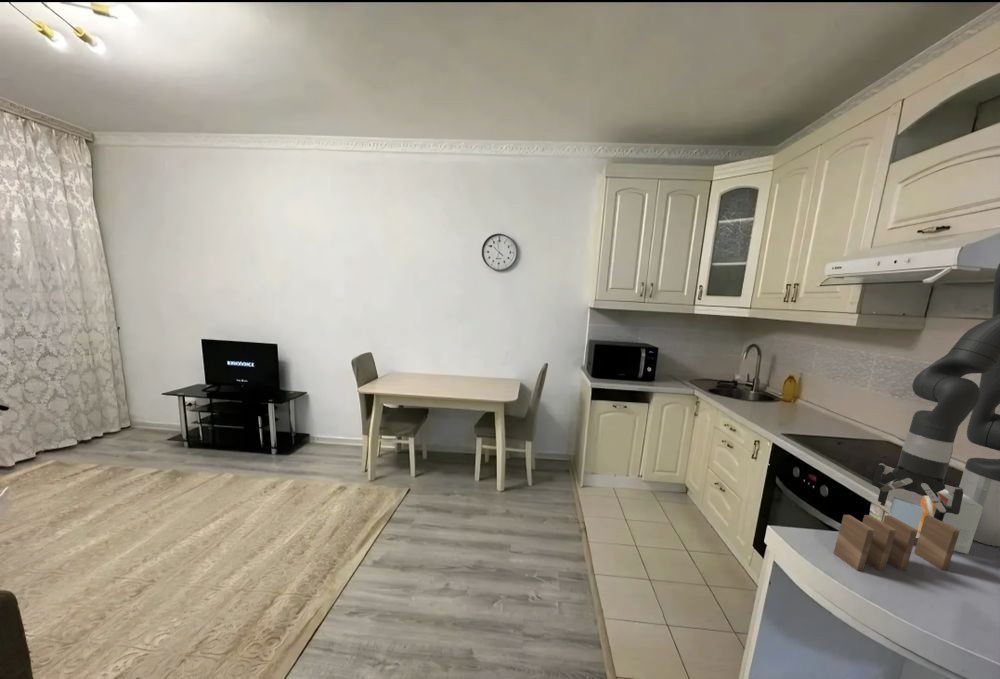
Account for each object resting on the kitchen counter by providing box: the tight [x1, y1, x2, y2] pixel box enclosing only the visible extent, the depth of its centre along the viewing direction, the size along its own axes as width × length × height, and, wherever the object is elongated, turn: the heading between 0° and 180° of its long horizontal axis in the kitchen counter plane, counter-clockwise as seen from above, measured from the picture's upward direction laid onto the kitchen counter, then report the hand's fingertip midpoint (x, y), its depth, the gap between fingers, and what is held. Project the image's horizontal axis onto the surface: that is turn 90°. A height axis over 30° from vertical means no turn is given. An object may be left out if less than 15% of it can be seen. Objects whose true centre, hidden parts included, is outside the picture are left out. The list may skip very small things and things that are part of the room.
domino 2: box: [861, 514, 896, 571], centre depth 80 cm, size 2×5×10 cm, turn 6°
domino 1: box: [833, 514, 874, 572], centre depth 79 cm, size 2×5×10 cm, turn 6°
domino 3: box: [888, 496, 924, 530], centre depth 89 cm, size 2×5×10 cm, turn 36°
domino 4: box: [882, 514, 919, 571], centre depth 80 cm, size 2×5×10 cm, turn 6°
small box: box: [917, 489, 983, 555], centre depth 90 cm, size 8×6×13 cm
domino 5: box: [913, 516, 960, 571], centre depth 82 cm, size 2×5×10 cm, turn 6°
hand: (907, 514), depth 88 cm, fingers open, 8 cm apart
